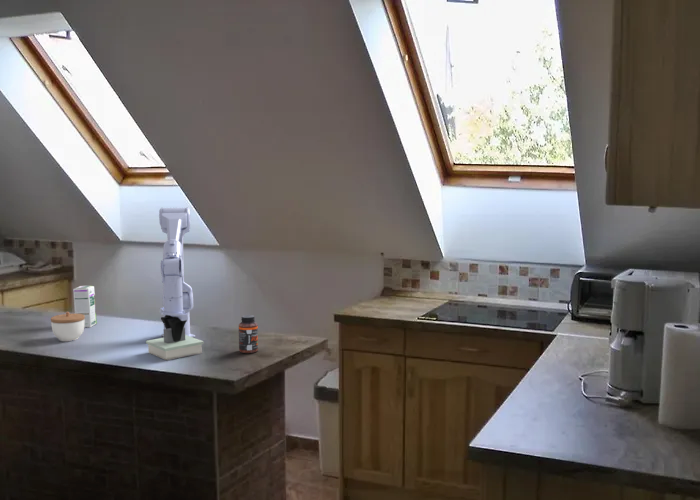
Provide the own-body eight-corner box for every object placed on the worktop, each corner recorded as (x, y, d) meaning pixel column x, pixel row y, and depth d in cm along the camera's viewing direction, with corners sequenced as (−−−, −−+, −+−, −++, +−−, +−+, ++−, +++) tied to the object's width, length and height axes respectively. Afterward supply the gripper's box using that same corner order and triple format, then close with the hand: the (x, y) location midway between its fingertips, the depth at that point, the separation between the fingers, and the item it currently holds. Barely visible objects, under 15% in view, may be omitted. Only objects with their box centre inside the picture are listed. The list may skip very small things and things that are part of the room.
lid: (145, 343, 225) (145, 328, 224) (183, 336, 233) (183, 321, 232) (165, 351, 215) (164, 335, 214) (203, 343, 223) (203, 328, 223)
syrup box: (91, 327, 260) (89, 288, 258) (75, 327, 260) (72, 288, 258) (97, 324, 266) (95, 285, 264) (81, 324, 266) (79, 285, 264)
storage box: (148, 352, 225) (148, 343, 224) (183, 346, 233) (182, 337, 232) (166, 360, 216) (166, 350, 216) (201, 353, 224) (201, 343, 223)
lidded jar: (58, 344, 236) (56, 316, 235) (47, 339, 244) (45, 311, 243) (90, 339, 243) (89, 312, 242) (78, 333, 251) (77, 307, 250)
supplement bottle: (254, 354, 222) (253, 318, 221) (236, 353, 223) (235, 317, 222) (260, 349, 228) (260, 314, 226) (243, 348, 229) (242, 313, 228)
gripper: (150, 295, 225) (152, 337, 227) (172, 301, 214) (174, 346, 216) (171, 292, 230) (172, 334, 231) (193, 298, 219) (195, 342, 220)
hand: (174, 339), depth 224 cm, fingers closed on lid, 2 cm apart
